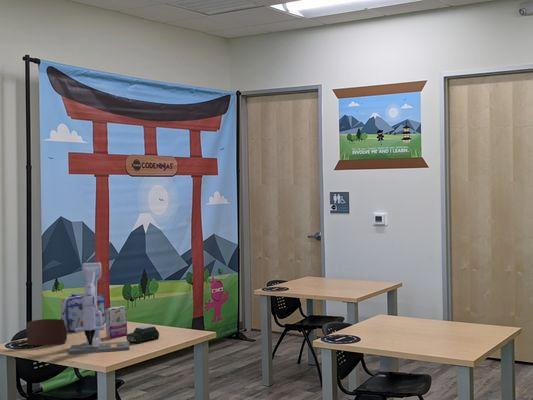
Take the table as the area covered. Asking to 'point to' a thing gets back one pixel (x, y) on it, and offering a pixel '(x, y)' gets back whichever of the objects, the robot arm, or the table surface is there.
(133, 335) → the miniature car
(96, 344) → the fader knob
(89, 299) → the robot arm
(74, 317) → the lunch box
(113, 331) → the candy bar box
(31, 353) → the table surface
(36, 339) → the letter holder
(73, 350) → the console board
